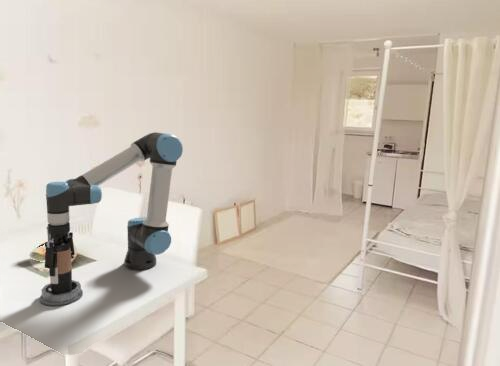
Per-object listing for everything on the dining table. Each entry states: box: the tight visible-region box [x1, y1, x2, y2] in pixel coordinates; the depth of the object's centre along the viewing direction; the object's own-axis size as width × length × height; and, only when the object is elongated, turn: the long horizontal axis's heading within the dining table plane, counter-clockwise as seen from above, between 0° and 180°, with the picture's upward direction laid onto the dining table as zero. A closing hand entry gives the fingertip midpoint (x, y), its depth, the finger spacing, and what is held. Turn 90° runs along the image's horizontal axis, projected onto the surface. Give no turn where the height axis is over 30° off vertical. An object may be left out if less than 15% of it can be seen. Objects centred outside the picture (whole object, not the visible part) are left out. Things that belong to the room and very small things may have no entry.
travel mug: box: [51, 240, 73, 294], centre depth 146 cm, size 8×8×20 cm
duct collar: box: [39, 279, 84, 307], centre depth 148 cm, size 15×15×4 cm
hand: (61, 278), depth 147 cm, fingers closed on travel mug, 8 cm apart
